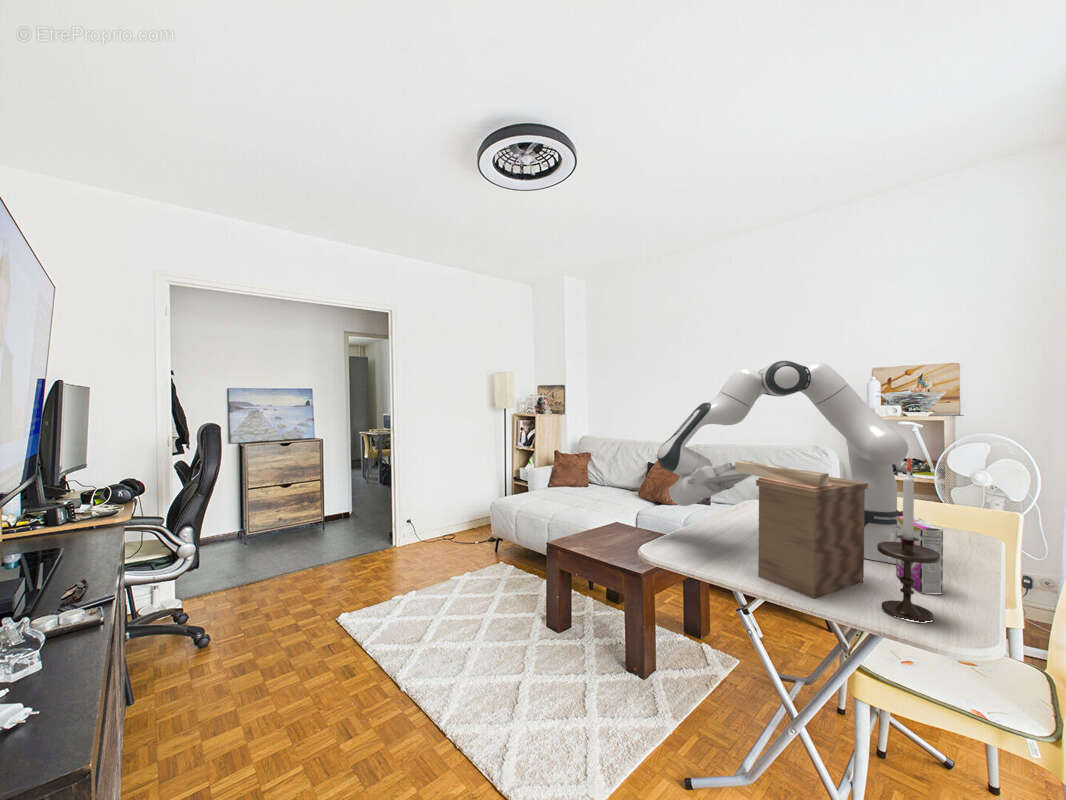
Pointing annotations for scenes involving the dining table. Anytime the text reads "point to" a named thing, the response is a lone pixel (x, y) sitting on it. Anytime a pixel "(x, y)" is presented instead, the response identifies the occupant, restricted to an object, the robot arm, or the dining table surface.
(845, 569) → the walnut shelf
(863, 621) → the dining table surface
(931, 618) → the candlestick
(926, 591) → the candy bar box
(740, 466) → the birch block
